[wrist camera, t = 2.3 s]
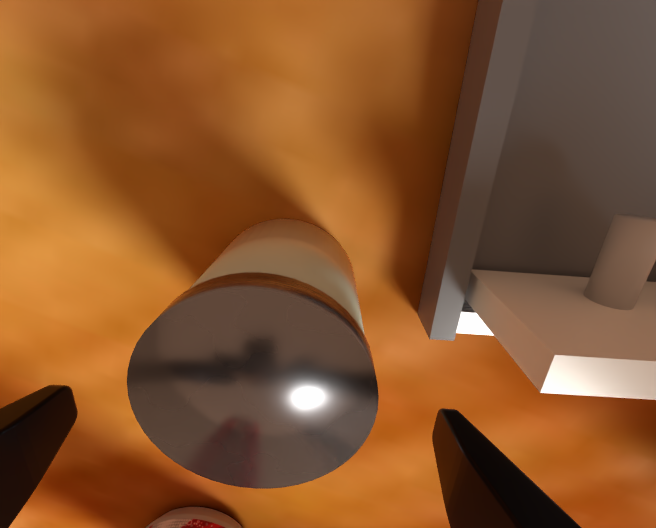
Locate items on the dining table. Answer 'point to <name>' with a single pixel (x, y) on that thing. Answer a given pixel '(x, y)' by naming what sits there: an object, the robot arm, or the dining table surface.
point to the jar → (260, 363)
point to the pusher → (581, 318)
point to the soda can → (194, 519)
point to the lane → (543, 147)
